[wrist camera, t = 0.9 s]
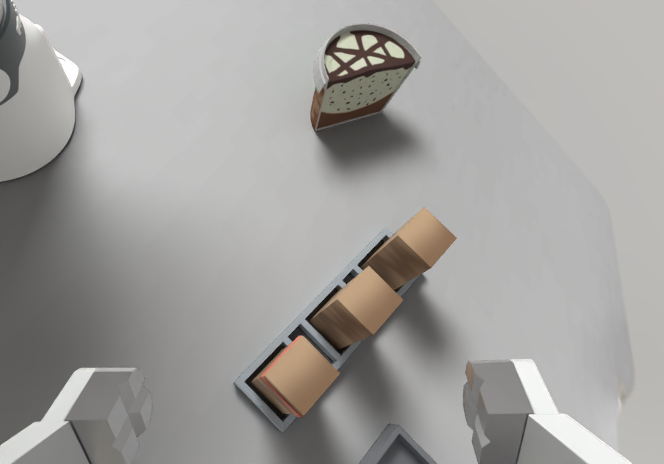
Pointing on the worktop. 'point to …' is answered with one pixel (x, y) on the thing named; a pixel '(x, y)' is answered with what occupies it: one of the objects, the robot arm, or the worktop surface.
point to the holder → (312, 335)
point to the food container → (359, 73)
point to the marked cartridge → (295, 378)
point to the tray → (396, 449)
